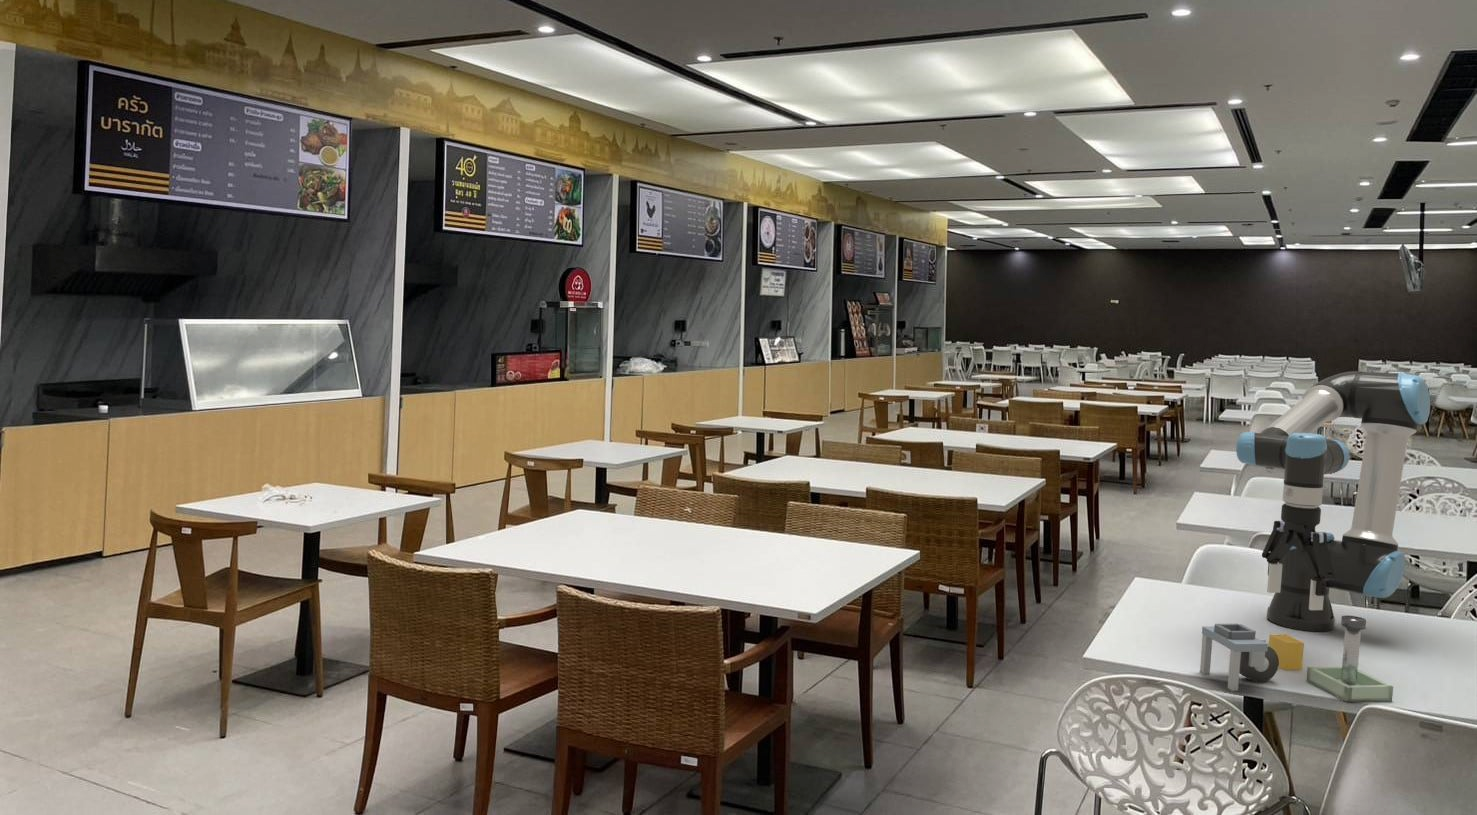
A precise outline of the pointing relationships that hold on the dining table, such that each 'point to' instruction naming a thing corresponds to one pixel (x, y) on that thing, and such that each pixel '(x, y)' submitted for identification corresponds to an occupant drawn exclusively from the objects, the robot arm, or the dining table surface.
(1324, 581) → the robot arm
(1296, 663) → the block
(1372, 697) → the tray
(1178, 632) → the dining table surface
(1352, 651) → the pin
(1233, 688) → the cart
